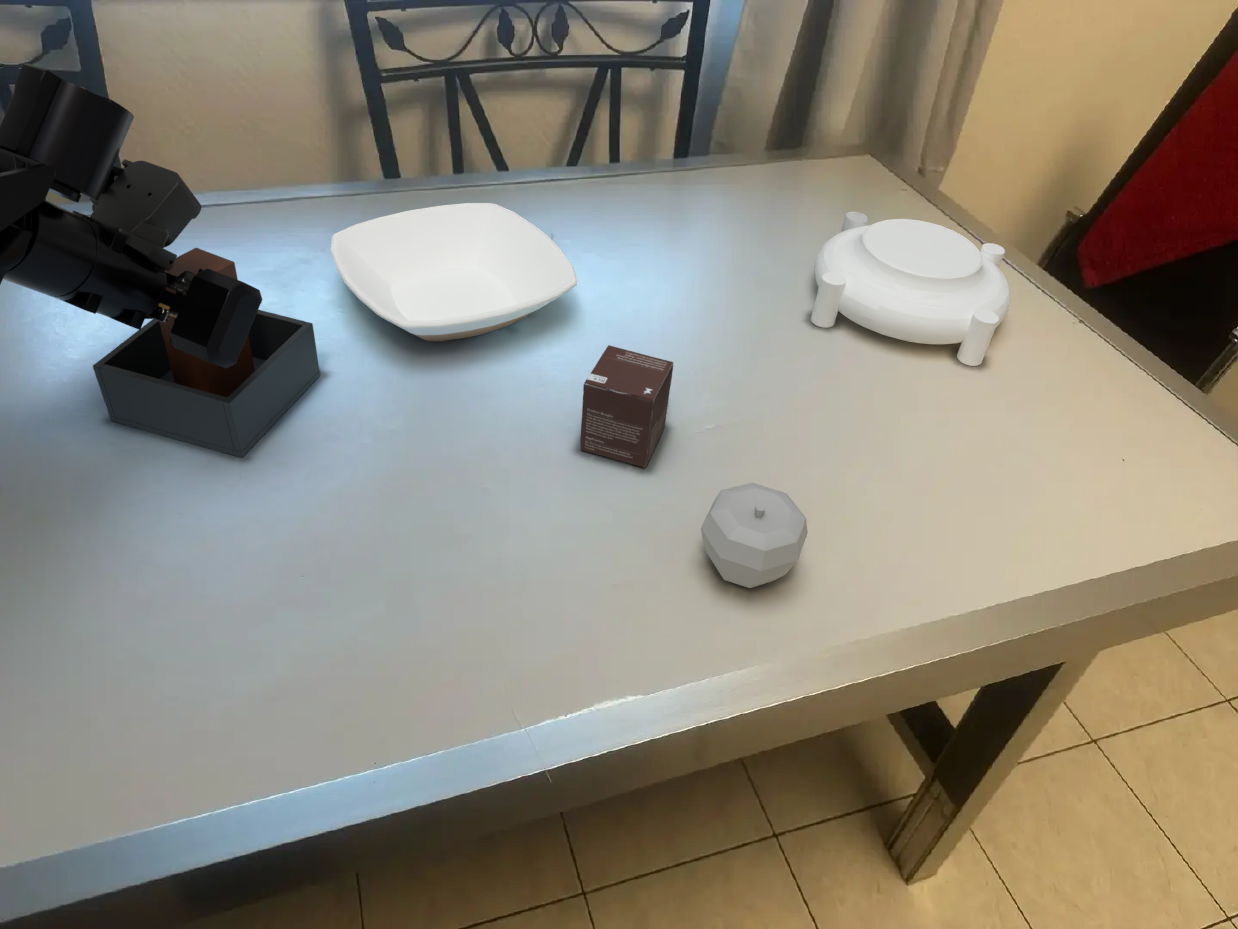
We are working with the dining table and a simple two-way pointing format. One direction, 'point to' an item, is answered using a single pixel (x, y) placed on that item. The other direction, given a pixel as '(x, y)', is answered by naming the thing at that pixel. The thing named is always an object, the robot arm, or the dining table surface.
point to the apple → (753, 534)
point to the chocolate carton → (193, 368)
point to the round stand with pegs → (912, 284)
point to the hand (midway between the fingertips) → (217, 319)
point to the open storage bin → (225, 424)
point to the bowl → (451, 268)
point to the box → (625, 405)
